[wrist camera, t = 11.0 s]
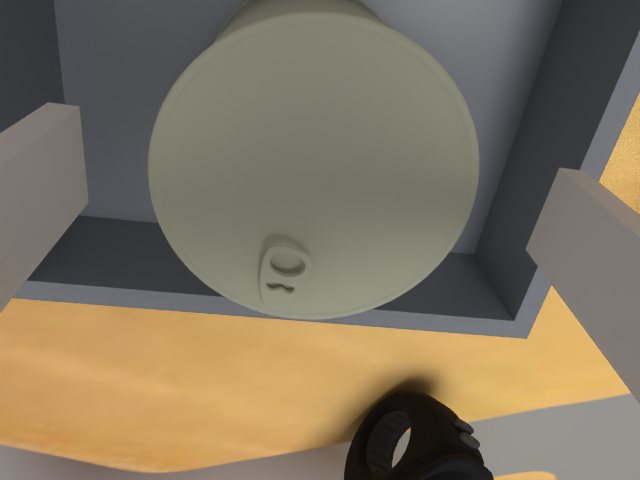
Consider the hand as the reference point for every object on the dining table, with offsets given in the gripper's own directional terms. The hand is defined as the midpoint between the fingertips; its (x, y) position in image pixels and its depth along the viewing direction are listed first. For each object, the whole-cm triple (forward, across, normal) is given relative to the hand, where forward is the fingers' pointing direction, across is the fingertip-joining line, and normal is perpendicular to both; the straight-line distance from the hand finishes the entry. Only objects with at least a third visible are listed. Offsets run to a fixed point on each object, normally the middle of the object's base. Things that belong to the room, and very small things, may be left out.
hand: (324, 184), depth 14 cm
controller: (+12, +9, -23) cm, 28 cm away
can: (+11, 0, 0) cm, 11 cm away
